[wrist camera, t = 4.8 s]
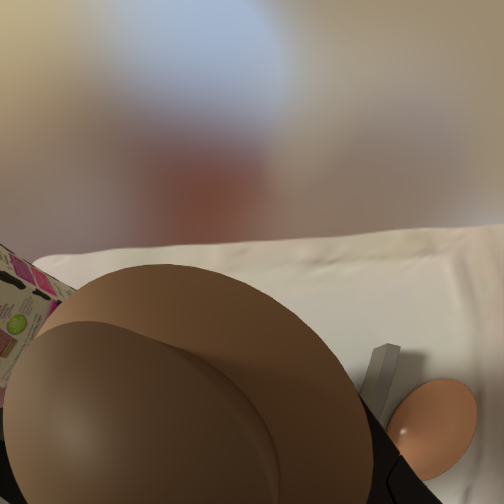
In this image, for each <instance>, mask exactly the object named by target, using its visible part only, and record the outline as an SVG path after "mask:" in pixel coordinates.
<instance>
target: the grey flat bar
mask: <svg viewBox="0 0 504 504" xmlns="http://www.w3.org/2000/svg"><path fill="white" fill-rule="evenodd" d="M400 347H401V346H397V345H393V344H389V343H387V344H385V345H382V346H380V347H378V348H375V349H373V353H372V357H371V360H370V364H369V367H368V370H367V374H366V377H365V380H364V383H363V386H362V390H361V393H360V396H361V397H362V398H363V400H364V401H365V403H366V404H367V406H368V407H369V408H370V410H371V411H372V413H373V414H374V416H375V417H376V418H377V420H378V421H379V418H380V416H381V413H382V410H383V407H384V404H385V401H386V398H387V395H388V392H389V388H390V385H391V382H392V378H393V375H394V371H395V367H396V364H397V360H398V356H399V352H400Z"/></svg>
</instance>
